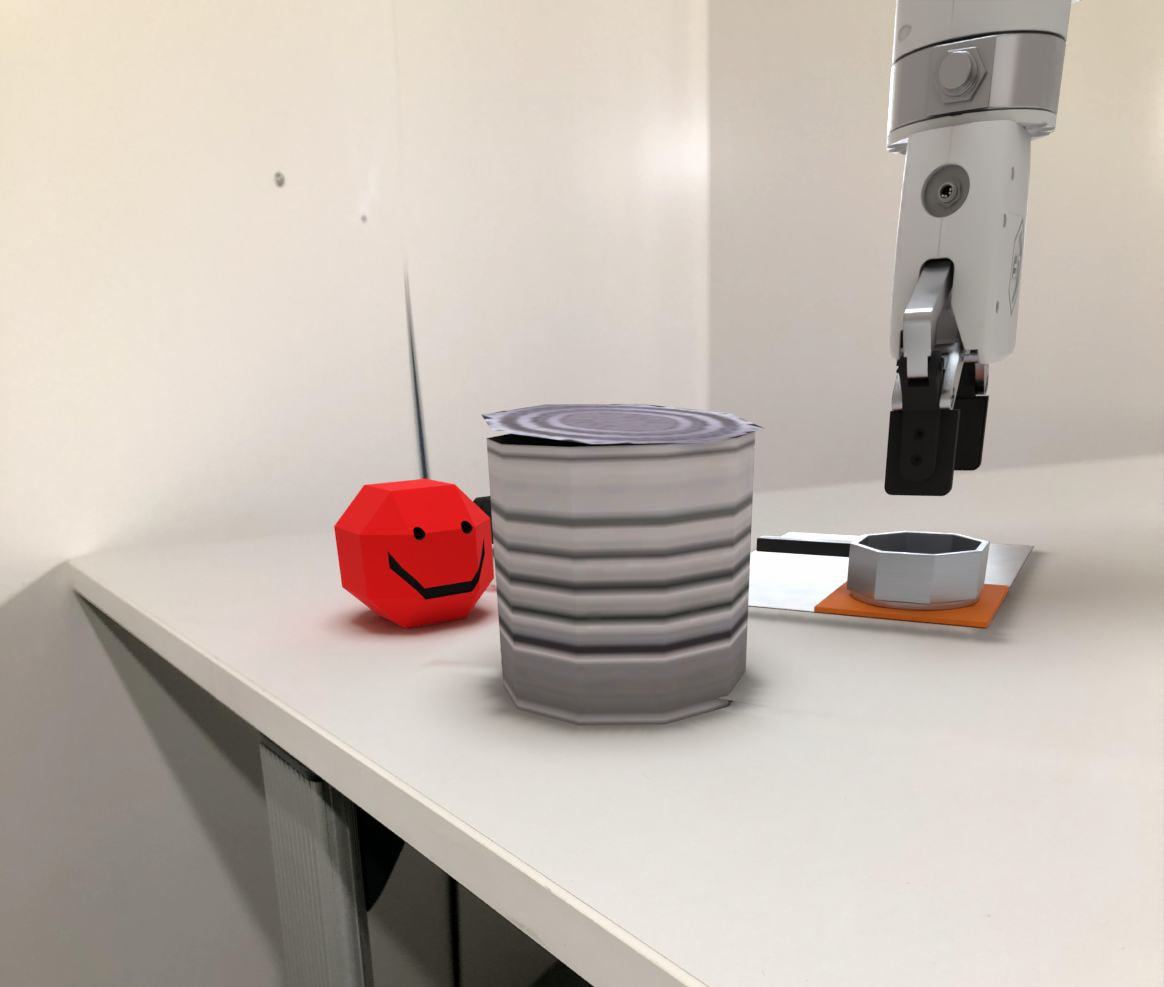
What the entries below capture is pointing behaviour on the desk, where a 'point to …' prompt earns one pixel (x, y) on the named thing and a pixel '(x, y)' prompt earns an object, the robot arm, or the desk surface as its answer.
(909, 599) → the pan
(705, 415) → the can
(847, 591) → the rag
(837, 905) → the desk surface
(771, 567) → the board
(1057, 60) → the robot arm
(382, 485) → the ball
